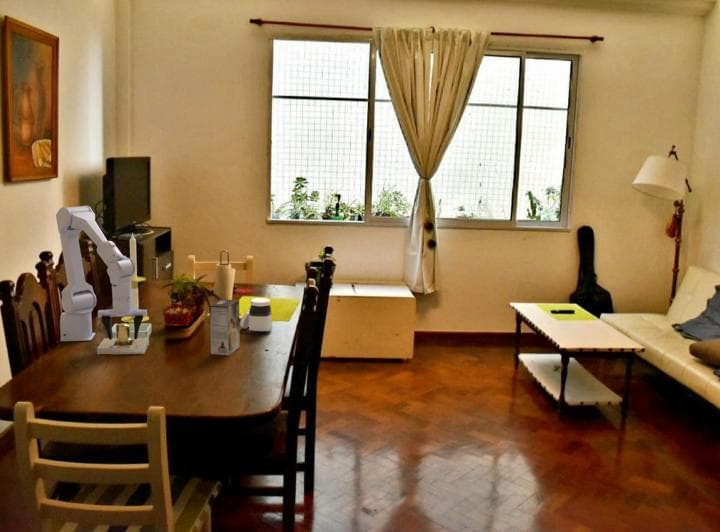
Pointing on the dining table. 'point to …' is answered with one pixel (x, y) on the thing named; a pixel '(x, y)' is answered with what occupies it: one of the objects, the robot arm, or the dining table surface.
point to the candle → (134, 282)
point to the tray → (142, 333)
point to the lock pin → (123, 334)
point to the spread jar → (258, 317)
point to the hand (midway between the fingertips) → (123, 338)
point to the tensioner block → (134, 348)
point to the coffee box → (224, 326)
